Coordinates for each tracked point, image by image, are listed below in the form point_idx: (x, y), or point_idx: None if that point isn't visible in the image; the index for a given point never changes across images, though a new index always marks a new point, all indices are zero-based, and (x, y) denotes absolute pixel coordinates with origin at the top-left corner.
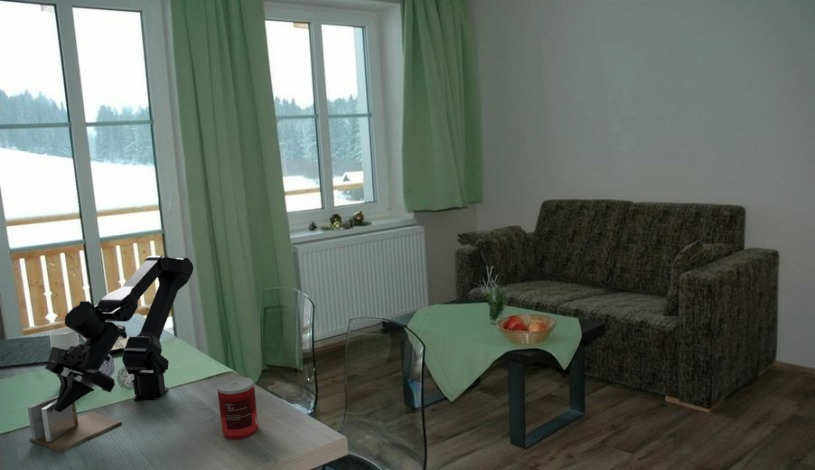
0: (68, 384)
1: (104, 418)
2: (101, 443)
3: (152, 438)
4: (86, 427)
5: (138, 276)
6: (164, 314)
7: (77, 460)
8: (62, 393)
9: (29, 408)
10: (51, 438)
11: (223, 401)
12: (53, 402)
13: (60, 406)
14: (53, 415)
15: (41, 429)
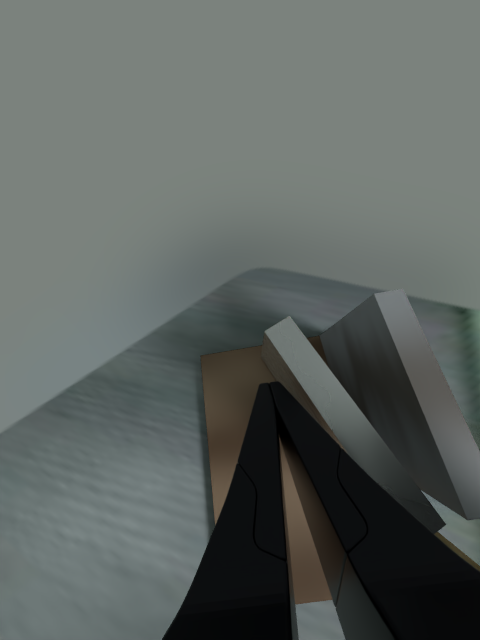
0: (256, 632)
1: (315, 581)
2: (148, 458)
3: (18, 600)
4: (284, 481)
5: None
6: None
7: (120, 368)
8: (305, 469)
9: (381, 294)
10: (262, 357)
11: None
12: (339, 397)
13: (253, 405)
14: (283, 374)
15: (333, 351)
